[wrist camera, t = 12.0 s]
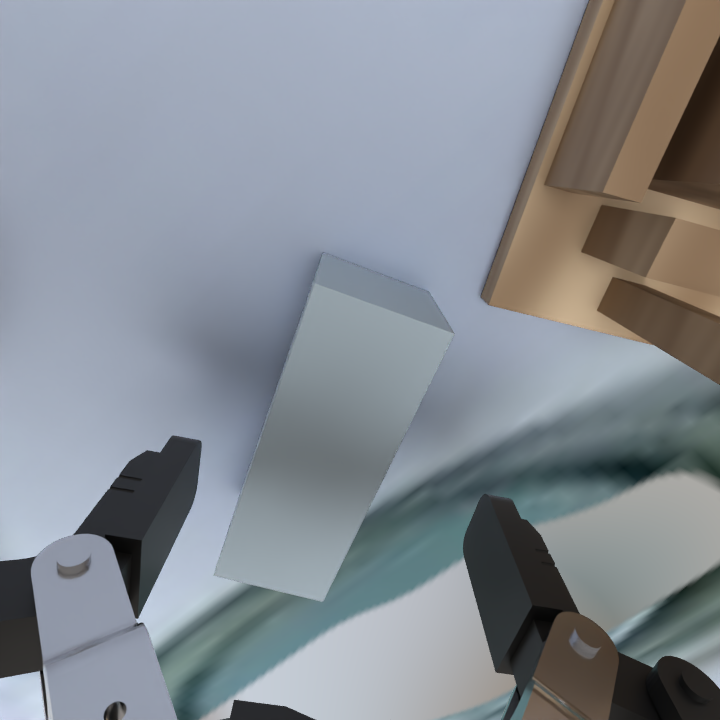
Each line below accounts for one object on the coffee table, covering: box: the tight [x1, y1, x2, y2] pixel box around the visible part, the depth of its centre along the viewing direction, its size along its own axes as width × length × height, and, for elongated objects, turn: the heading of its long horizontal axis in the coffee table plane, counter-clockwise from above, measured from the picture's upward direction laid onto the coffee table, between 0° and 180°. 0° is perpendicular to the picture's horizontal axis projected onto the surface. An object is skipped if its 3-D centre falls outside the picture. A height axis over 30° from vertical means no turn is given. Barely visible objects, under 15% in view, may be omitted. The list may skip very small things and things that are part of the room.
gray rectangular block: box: [214, 252, 455, 602], centre depth 16 cm, size 4×11×4 cm, turn 159°
